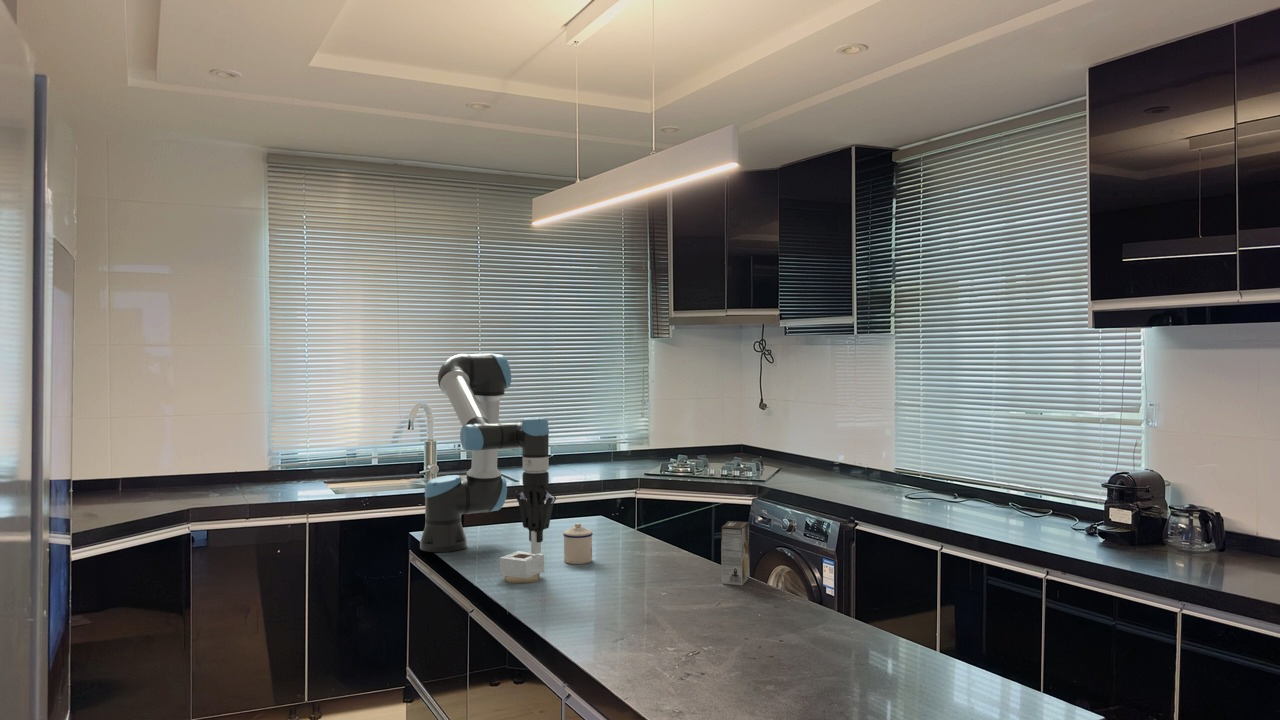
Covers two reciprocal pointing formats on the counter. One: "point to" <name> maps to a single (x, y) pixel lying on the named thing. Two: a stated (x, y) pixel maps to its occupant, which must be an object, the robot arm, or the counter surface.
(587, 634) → the counter surface
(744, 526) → the coffee box
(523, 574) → the white boxy piece
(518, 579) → the hub
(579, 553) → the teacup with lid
